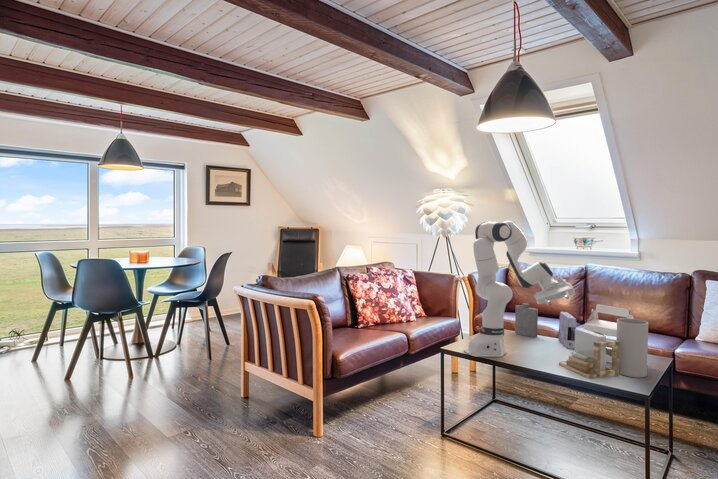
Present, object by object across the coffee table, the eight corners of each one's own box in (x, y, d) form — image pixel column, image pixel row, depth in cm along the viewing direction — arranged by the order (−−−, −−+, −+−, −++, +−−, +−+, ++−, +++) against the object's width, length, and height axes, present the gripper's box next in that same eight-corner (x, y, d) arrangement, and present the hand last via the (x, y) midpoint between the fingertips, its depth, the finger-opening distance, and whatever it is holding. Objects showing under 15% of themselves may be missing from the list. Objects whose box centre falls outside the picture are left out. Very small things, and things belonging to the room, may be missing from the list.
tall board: (597, 374, 206) (598, 336, 205) (574, 364, 222) (574, 328, 221) (605, 374, 207) (606, 336, 206) (581, 363, 222) (581, 328, 222)
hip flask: (538, 337, 275) (538, 305, 274) (534, 337, 273) (534, 305, 272) (517, 331, 288) (517, 301, 288) (513, 332, 286) (513, 301, 285)
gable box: (640, 363, 224) (641, 308, 223) (626, 367, 217) (628, 311, 216) (597, 352, 243) (598, 301, 242) (583, 355, 236) (584, 304, 235)
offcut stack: (585, 373, 203) (585, 358, 202) (566, 365, 215) (566, 350, 215) (595, 373, 204) (596, 358, 204) (576, 364, 217) (576, 350, 216)
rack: (587, 378, 201) (588, 343, 201) (558, 364, 221) (559, 332, 220) (618, 375, 205) (619, 341, 204) (587, 362, 224) (588, 331, 224)
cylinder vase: (612, 368, 215) (613, 317, 214) (641, 370, 212) (643, 319, 211) (619, 376, 203) (621, 323, 202) (650, 379, 200) (652, 325, 199)
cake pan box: (576, 349, 247) (577, 318, 247) (566, 349, 248) (567, 318, 248) (566, 340, 266) (567, 311, 266) (557, 340, 267) (558, 311, 266)
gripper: (530, 290, 248) (536, 302, 236) (567, 278, 243) (576, 289, 230) (534, 299, 250) (540, 311, 237) (571, 287, 245) (579, 299, 232)
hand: (558, 300), depth 234 cm, fingers open, 8 cm apart
